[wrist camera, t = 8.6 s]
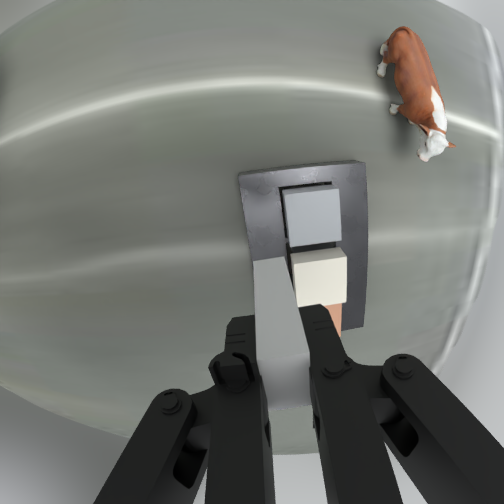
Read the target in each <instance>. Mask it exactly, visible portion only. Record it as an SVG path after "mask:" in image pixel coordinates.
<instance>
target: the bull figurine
mask: <svg viewBox="0 0 504 504" xmlns="http://www.w3.org/2000/svg"><path fill="white" fill-rule="evenodd" d="M380 54H381V55H383V60H382V62H381V63H380V64H378V65H377V66H378V70H377V75H378V76H379V77H381V78H384V76H385V73H386V67H387V65H388V64H389V63H394V64H395V73H394V80H395V84H396V87H397V89H398V91H399V93H400V94H401V96H402V99H403V102H404V104H403V105H402V104H401V105H397V104H391V107H390V108H389V112H390V114H391V115H395V114H396V113H397V112H398V111H399V113H401V114H403V115H404V116H405V117H406V118H408V122H409V124H411V125H414V124H415V125H416V126H417V127H418V129H419V131H420V134H421V138H420V148H419V149H418V150H417V155H418V157H419V158H420V159H421V160H422V161H425V162H427V161H428V160H429V158H430V157H432V156H435V155H438V154H440V153H442V152H443V150H444V148H445V147H449V148H453V147H456V146H455V145H454V144H452V143H450V142H448V141H447V140H446V138H445V134H446V130H447V119H446V116H445V108H444V102H443V99H442V97H441V94H440V90H439V86H438V83H437V79H436V76H435V74H434V71H433V68H432V66H431V62H430V59H429V56H428V54H427V51H426V49H425V47H424V45H423V43H422V41H421V39H420V38H419V36H418V35H417V34H416V33H414V32H413V31H412V30H411V29H410V28H408V27H405V26H403V27H399V28H397V29H396V30H395V31H394V32H393V33H392V34H391V36H390V37H389V39H388V40H387V41H386V42H384V43H383V45H382V46H381V49H380Z"/></svg>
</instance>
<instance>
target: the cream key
mask: <svg viewBox="0 0 504 504" xmlns="http://www.w3.org/2000/svg"><path fill="white" fill-rule="evenodd" d="M291 264H292V274H293V285H294V294H295V298H296V302H297V305H298V307H303V306H309V305H315V304H322V305H323V306H326V305H332V304H339V303H345V302H346V294H347V256H346V255H345V254H344V252H343V251H342V249H341V248H340V247H337V248H333V247H332V245H331V244H330V242H326V243H318V244H310V245H303V246H295V247H292V254H291Z"/></svg>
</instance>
